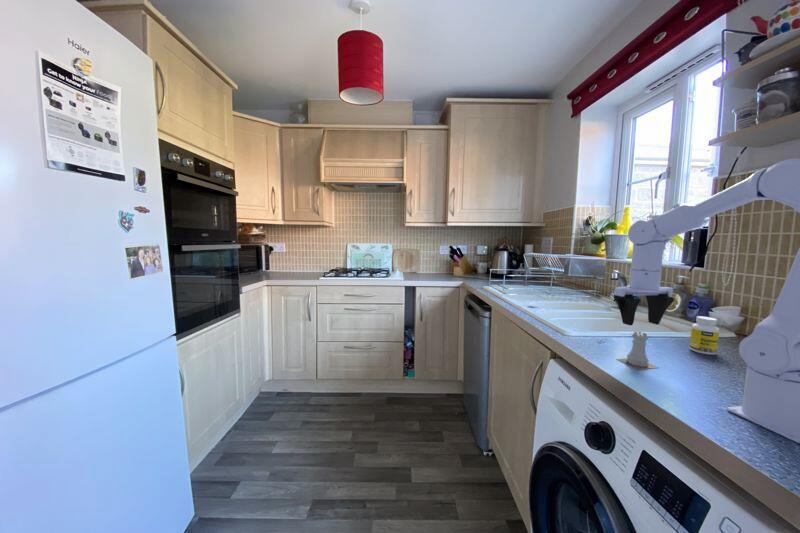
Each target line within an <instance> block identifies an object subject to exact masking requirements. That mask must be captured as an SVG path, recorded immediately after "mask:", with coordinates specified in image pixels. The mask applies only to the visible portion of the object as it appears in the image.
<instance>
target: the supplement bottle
mask: <svg viewBox="0 0 800 533" xmlns="http://www.w3.org/2000/svg"><path fill="white" fill-rule="evenodd" d="M695 321H696V323H693V324H692V325H691V330H690V338H689V345H688V346H689V350H691V351H693V352H696V353H699V354H703V355H710V356H711V355H716V354H717V351H718V344H719V338H720V337H719V336H720V328H719V327H717V326H716V325H718V319H717V318H714V317H709V316H701V315H699V316H698V315H697V316H696V320H695Z"/></svg>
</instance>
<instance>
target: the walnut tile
mask: <svg viewBox="0 0 800 533" xmlns="http://www.w3.org/2000/svg"><path fill="white" fill-rule="evenodd" d="M626 359H627V357H625V358H616V359H615V360H617V361H619V362H621V363H623V364H625V365H628V366H629V367H630V368H633V369H636V370H650V369H652V370H653V369H659V367H658V366H657V365H654V364H651V363H649V362H647V363H648V364H649V365H648V366H646V367H638V366H634V365H631V364H629V363H628V362H627V360H626Z"/></svg>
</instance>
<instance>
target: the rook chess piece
mask: <svg viewBox="0 0 800 533" xmlns="http://www.w3.org/2000/svg"><path fill="white" fill-rule="evenodd" d="M631 337H632V338H633V340H632V341H631V343H632V347H631V351H630V352H629V353H628V354H627V355H626V358H627V359H626V360H627V362H628V363H629V364H631V365H634V366H638V367H646V366H648V365H649V364H650V363H649V358H648V355H647V353H646V345H647V343H646V342H647V340H649V337H648V336H647V333H645V332H641V331H634V332H633V334H631ZM648 363H649V364H648Z"/></svg>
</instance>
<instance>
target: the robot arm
mask: <svg viewBox="0 0 800 533" xmlns="http://www.w3.org/2000/svg"><path fill="white" fill-rule="evenodd" d="M766 200H768V201H769V200H771V201H775V202H778V203H781V204H783V205H786V206H788V207H791V208H792V209H794V211H796V212H797V213H799V214H800V158H790V159H785V160H781V161H779V162H777V163H774V164H773V165H771V166H769V167H768V168H762V169H760V170H757V171H755V172H754V173H752V174H751V175H750V176H749V177H747V178H746V179H743V180H741V181H740V182H738V183H736V184H734V185H731V186H729V187H727V188H726V189H724V190H721V191H719V192H717V193H716V194H714V195H711V196H710V197H708V198H706V199H704V200H701V201H699V202H698V203H696V204H692V203H676V204H674V205H673V206H672V209H670V210H668V211H664V212H663V213H662V214H655V215H653V216H652V217H651V219H649V220H645V219H643V220H642V219H641V220H640V219H638V220H637V221H635V222H634V223H632V224H631V226H630V227H629V229H628V231H627V236H628V240H629V241H630V242H631V243H632V244H633V245H632V254H631V266H630V276H629V277H630V279H629V284H627V285H626V286H619V287H615V288H614V294H613V299H614V301H615V302H616V304H617V307H618V309H619V313H620V316H621V321H622V324H623V325H628V326H633V324H634V321H635V317H636V311H637V308H638V307H639V305H640V303H641V299H639V298H635V296H636V297H638V296H640V297H641V296H645V300H646V303H647V307H648V308H647V309H648V310H647V312H648V313H647V319H648V320H647V321H648V323H651V324H653V325H659V324H660V323H661V321H662V318H663V316H664V314H665V313H666V311H667V309H668V308H669V307H670V305H671V304H672V303H673V302H675V297H674V296H673V292H674V288H673V287H668V286H661V276H662V266H663V265H662V264H663V256H664V250H666V245H667V243H668V242H669V241H670V240H671V238H674V237H676V236H680V235H681V234H684V233H687V232H689V231H692V230H695V229H697V228H700V227H701V226H702V225H703V224H704V222H705V220H706V219H707V218H710V217H712V216H713V217H714V216H715V215H718V214H721V213H723V212H727V211H730V210H733V209H735V208H738V207H741V206H743V205H744V206H745V205H746V204H749V203H753V202H755V201H766ZM788 271H789V272H788V274H787V276H786V278H785V281H784V284H783V285H782V287H781V290H780V293H779V295H778V297H777V298H776V302H775V304H774V307H773V309H772V311H771V313H770V315H768V316H767V317H765V318H764V319H763V320H762V321H760V322H759V323H757V324H756V325H755V327H754V329H753V331H752V333H751V334H749V335H748V336H746V337H745V338H743V339H742V340H741V341H740V343H739V345H738V353H739V356H740V357H741V359H742V360H743V362H744V363H745V364H746V373H745V374H746V375H745V380H744V390H743V395H742V402H741V403H742V404H741V405H739V406H737V405H736V406H727V408H726V410H727V411H729V412H731V413H733V414H735V415H737V416H739V417H742V418H744V419H746V420H747V421H750V422H752V423H755V424H756V425H758V426H760V427H763V428H765V429H767V430H769V431H772V432H774V433H776V434H778V435H781V436H782V437H784V438H787V439H789V440H791V441H794V442H796V443H798V444H800V247H799V249H798V251H797V253H796V255H795V257H794V260H793V263H792V265H791V267H790V270H788Z"/></svg>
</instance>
